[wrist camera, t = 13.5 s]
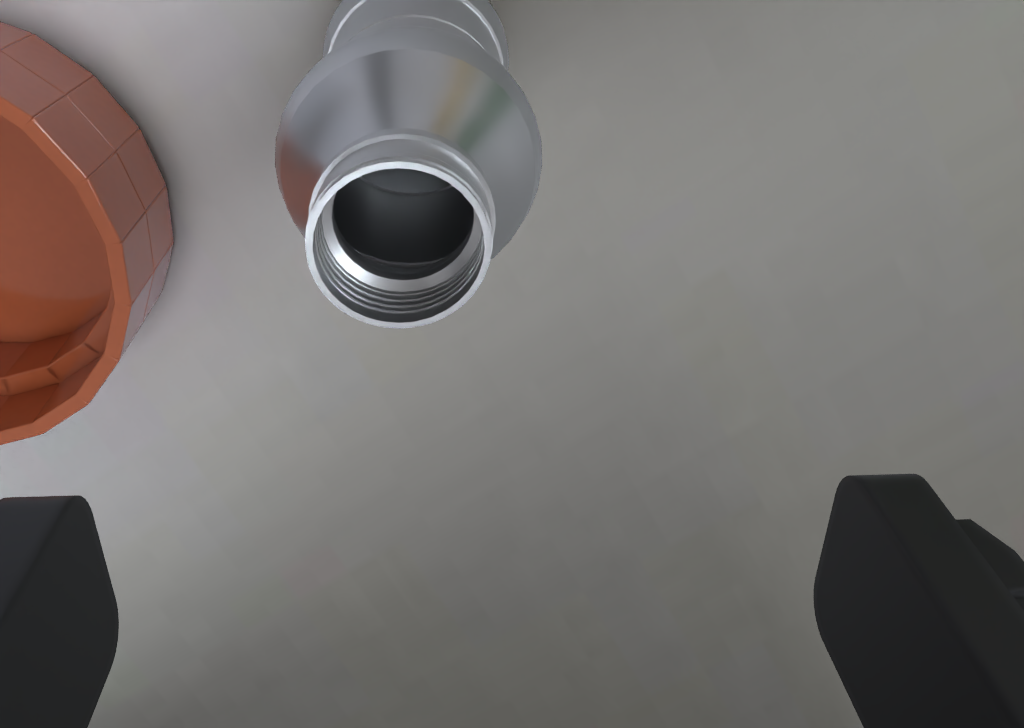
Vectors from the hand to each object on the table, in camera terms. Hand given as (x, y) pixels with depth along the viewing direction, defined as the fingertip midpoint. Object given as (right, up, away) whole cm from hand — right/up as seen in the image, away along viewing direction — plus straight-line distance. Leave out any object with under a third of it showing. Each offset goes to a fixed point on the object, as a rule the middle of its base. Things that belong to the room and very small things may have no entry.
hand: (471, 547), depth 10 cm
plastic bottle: (-3, +14, +26) cm, 29 cm away
